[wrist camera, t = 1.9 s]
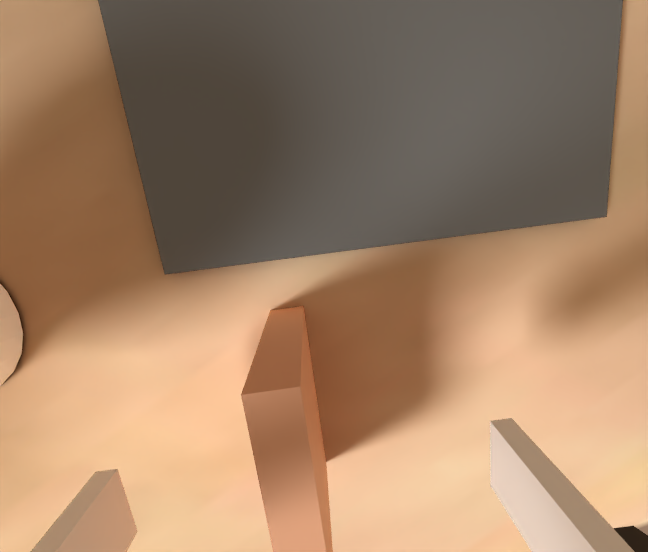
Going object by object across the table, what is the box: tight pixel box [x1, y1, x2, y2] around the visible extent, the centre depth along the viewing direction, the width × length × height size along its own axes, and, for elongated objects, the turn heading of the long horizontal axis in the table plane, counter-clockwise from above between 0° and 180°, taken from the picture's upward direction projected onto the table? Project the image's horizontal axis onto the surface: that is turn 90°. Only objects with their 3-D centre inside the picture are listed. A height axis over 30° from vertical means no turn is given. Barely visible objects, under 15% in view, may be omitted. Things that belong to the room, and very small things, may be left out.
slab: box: [241, 306, 333, 552], centre depth 13 cm, size 2×9×7 cm, turn 7°
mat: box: [98, 0, 623, 274], centre depth 13 cm, size 20×16×1 cm
